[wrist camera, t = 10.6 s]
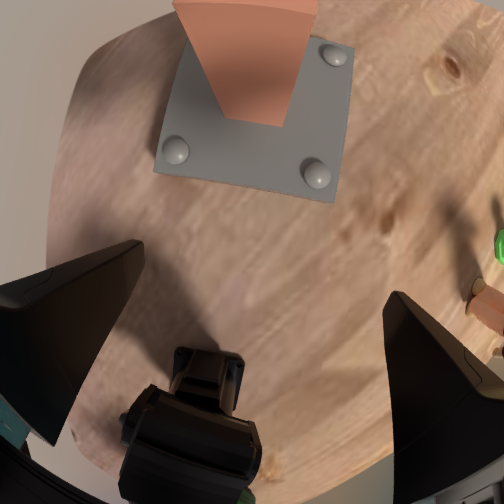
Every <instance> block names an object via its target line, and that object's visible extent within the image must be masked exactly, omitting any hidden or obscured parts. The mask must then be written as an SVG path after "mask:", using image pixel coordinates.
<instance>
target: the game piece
mask: <svg viewBox="0 0 504 504" xmlns="http://www.w3.org/2000/svg"><path fill="white" fill-rule="evenodd" d="M495 253H496V259H497V260H498V261H499V262H500V263H501V264H502V265H504V229H502V230H500V231H499V234H498V237H497V240H496V242H495Z"/></svg>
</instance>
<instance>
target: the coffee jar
mask: <svg viewBox="0 0 504 504" xmlns="http://www.w3.org/2000/svg"><path fill="white" fill-rule="evenodd" d="M255 500H256V499H255V496H254V495H253V494H252V493H251V492H250V491H248V490H247V489H246V488H244V489H243V491H242V493H241V495H240V497H239V500H238V502H237V504H255Z"/></svg>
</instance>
